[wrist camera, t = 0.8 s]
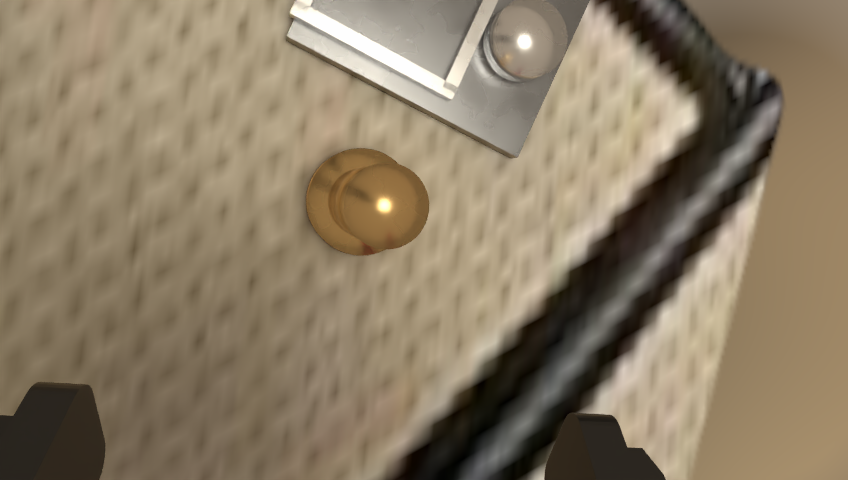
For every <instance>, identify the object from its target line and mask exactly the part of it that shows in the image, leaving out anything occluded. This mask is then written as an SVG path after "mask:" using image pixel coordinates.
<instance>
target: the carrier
mask: <svg viewBox="0 0 848 480" xmlns="http://www.w3.org/2000/svg"><path fill="white" fill-rule="evenodd" d="M589 1H590V0H295V2H294V4H293V6H292V9H291V11H290V13H289V17H291V18H293V19H294V21H293V23H292V25H291V27H290V29H289V32H288V34H287V36H286V41H288V42H289V43H291V44H293V45H295V46H297V47H299V48H301V49H303V50H305V51H307V52H309V53H310V54H312V55H314V56H316V57H318V58H320V59H322V60H324V61H326V62H328V63H330V64H331V65H333V66H335V67H337V68H339V69H341V70H343V71H345V72H347V73H349V74H351V75H352V76H354V77H356V78H358V79H360V80H362V81H364V82H366V83H368V84H370V85H372V86H373V87H375V88H377V89H379V90H381V91H383V92H385V93H387V94H389V95H391V96H393V97H394V98H396V99H398V100H400V101H402V102H404V103H406V104H408V105H410V106H412V107H414V108H415V109H417V110H419V111H421V112H423V113H425V114H427V115H429V116H431V117H433V118H435V119H436V120H438V121H440V122H442V123H444V124H446V125H448V126H450V127H452V128H454V129H456V130H457V131H459V132H461V133H463V134H465V135H467V136H469V137H471V138H473V139H475V140H477V141H478V142H480V143H482V144H484V145H486V146H488V147H490V148H492V149H494V150H496V151H498V152H499V153H501V154H503V155H505V156H507V157H509V158H517V157H518V156H519V153H520V151H521V149H522V147H523V145H524V142H525V140H526V138H527V136H528V134H529V132H530V129H531V127H532V125H533V123H534V121H535V118H536V116H537V114H538V112H539V110H540V108H541V105H542V103H543V101H544V99H545V97H546V94H547V92H548V90H549V88H550V86H551V84H552V81H553V79H554V77H555V75H556V73H557V70H558V68H559V66H560V64H561V62H562V60H563V57H564V55H565V53H566V51H567V49H568V46H569V44H570V42H571V40H572V38H573V35H574V33H575V31H576V29H577V27H578V25H579V22H580V20H581V18H582V16H583V14H584V11H585V9H586V7H587V5H588V3H589Z"/></svg>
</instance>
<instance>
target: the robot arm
mask: <svg viewBox="0 0 848 480" xmlns="http://www.w3.org/2000/svg"><path fill="white" fill-rule="evenodd" d="M104 458H105V440H104V435H103V431H102V427H101V423H100V419H99V415H98V411H97V407H96V403H95V399H94V395H93V391H92V389H91V387H90V386H89V385H85V384H67V383H49V382H38V383H36V384H34V385H33V386H32V387H31V388H30V389H29V391H28V392H27V394H26V395H25V397H24V399H23V401H22V402H21V404H20V406H19V407H18V409H17V411H16V413H15V414H14V416H3V415H0V480H99V479H100V476H101V473H102V469H103V464H104ZM545 480H666V479H665V477H664V475H663V473H662V472H661V471H660V470H659V468H658V467H657V466H656V465H655V463H654V462H653V461H652V460H651V458H650V457H649V456H648V455H647V454H646V452H645V451H644V450H643V449H642V448H627V446H626V443H625V440H624V437H623V434H622V432H621V429H620V426H619V424H618V422H617V420H616V419H615V417H613V416H612V415H602V414H584V413H569V414H568V415H567V417H566V418H565V421H564V423H563V425H562V428H561V430H560V433H559V435H558V437H557V440H556V442H555V444H554V447H553V449H552V451H551V454H550V456H549V459H548V461H547V464H546V469H545Z"/></svg>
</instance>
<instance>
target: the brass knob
mask: <svg viewBox="0 0 848 480" xmlns="http://www.w3.org/2000/svg"><path fill="white" fill-rule="evenodd" d="M306 207H307V213H308V216H309V219H310V222H311V224H312V226H313V227H314V229H315V231H316V232H317V233H318V234H319V236H320V237H321V238H322V239H323V240H324V241H326V242H327V243H328V244H329V245H331V246H332V247H333V248H335V249H337V250H339V251H341V252H344V253H347V254H352V255H371V254H375V253H378V252H381V251H383V250H386V249H394V248H398V247H401V246H404V245H406V244H408V243H409V242H411V241H412V240H413V239H414V238H416V237H417V236H418V234H419V233H420V232H421V231H422V229H423V227H424V225H425V223H426V221H427V218H428V213H429V199H428V194H427V191H426V189H425V186H424V185H423V183H422V181H421V180H420V179H419V177H418V176H417V175H416V174H415V173H414V172H412V171H411V170H410V169H408V168H406V167H404V166H402V165H399V164H398V163H397V162H396V161H395V160H393V159H392V158H391V157H389V156H387V155H386V154H384V153H381V152H379V151H375V150H372V149H365V148H357V149H350V150H346V151H343V152H341V153H338V154H336V155H334V156H333V157H331V158H329V159H328V160H326V161H325V162H324V163H323V164H322V165H321V166H320V167H319V168H318V169H317V170H316V172H315V173H314V175H313V176H312V178H311V180H310V183H309V185H308V189H307V195H306Z"/></svg>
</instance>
